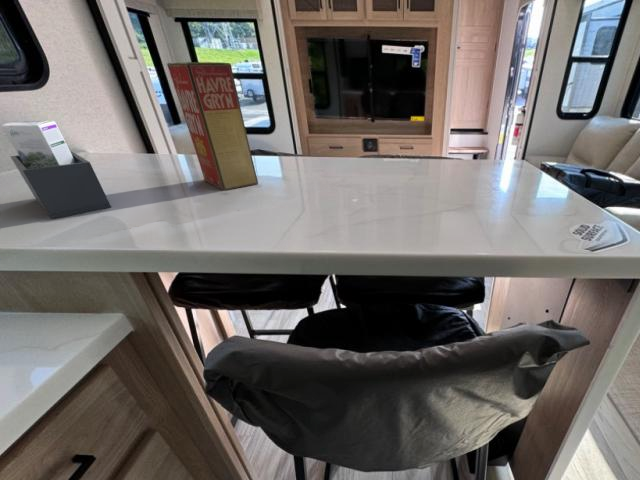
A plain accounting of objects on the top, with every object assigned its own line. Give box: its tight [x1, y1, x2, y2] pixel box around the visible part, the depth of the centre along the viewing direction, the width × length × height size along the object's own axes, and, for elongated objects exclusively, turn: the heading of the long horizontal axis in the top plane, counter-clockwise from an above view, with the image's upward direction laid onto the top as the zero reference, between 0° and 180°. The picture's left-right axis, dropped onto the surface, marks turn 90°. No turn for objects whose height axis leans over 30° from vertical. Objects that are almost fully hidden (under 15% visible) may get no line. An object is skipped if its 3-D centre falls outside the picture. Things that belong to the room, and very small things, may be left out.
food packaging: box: [166, 61, 259, 192], centre depth 78 cm, size 13×9×25 cm
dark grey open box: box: [10, 150, 112, 220], centre depth 68 cm, size 17×9×9 cm, turn 49°
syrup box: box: [0, 120, 76, 169], centre depth 66 cm, size 6×6×14 cm
